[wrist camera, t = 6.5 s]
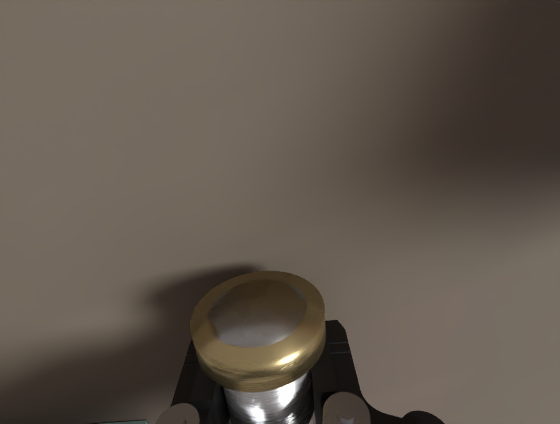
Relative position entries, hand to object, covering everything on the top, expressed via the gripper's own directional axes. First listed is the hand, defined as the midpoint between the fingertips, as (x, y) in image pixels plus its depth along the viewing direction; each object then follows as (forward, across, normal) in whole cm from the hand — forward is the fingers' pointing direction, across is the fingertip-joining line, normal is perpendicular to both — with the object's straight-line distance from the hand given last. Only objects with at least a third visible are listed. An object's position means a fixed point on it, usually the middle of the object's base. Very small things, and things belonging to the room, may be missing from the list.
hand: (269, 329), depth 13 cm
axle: (-1, 0, +6) cm, 6 cm away
